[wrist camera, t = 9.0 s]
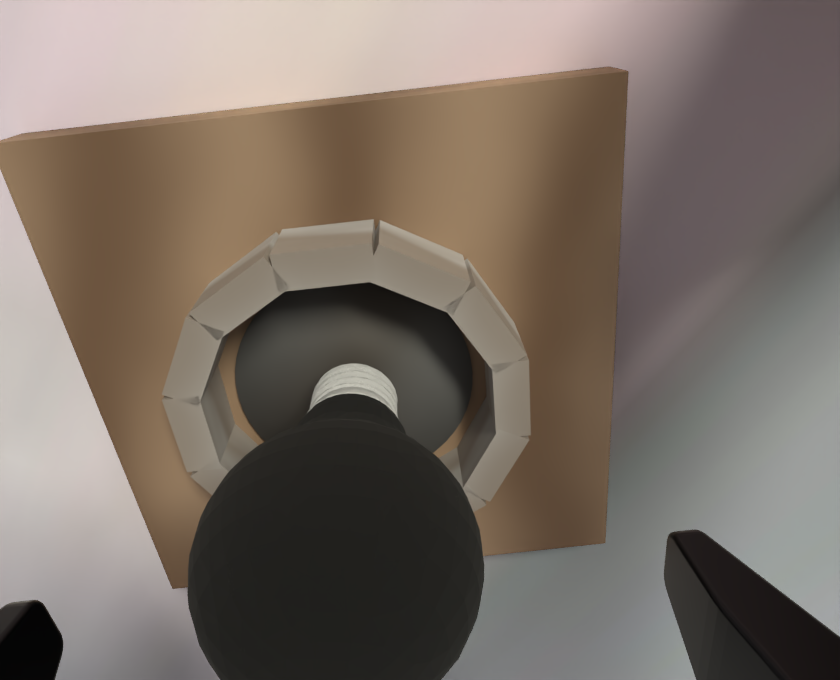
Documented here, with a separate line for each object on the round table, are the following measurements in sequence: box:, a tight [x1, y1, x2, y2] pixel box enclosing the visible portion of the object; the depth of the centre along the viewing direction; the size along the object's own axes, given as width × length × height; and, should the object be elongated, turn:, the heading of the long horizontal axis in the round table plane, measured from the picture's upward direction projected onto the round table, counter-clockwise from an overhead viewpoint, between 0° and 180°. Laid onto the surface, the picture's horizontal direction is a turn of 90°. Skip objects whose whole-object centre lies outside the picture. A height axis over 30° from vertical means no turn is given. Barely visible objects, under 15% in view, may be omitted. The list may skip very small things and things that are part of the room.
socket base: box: [0, 67, 628, 589], centre depth 19 cm, size 16×16×4 cm
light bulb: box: [188, 363, 484, 680], centre depth 15 cm, size 6×6×10 cm
